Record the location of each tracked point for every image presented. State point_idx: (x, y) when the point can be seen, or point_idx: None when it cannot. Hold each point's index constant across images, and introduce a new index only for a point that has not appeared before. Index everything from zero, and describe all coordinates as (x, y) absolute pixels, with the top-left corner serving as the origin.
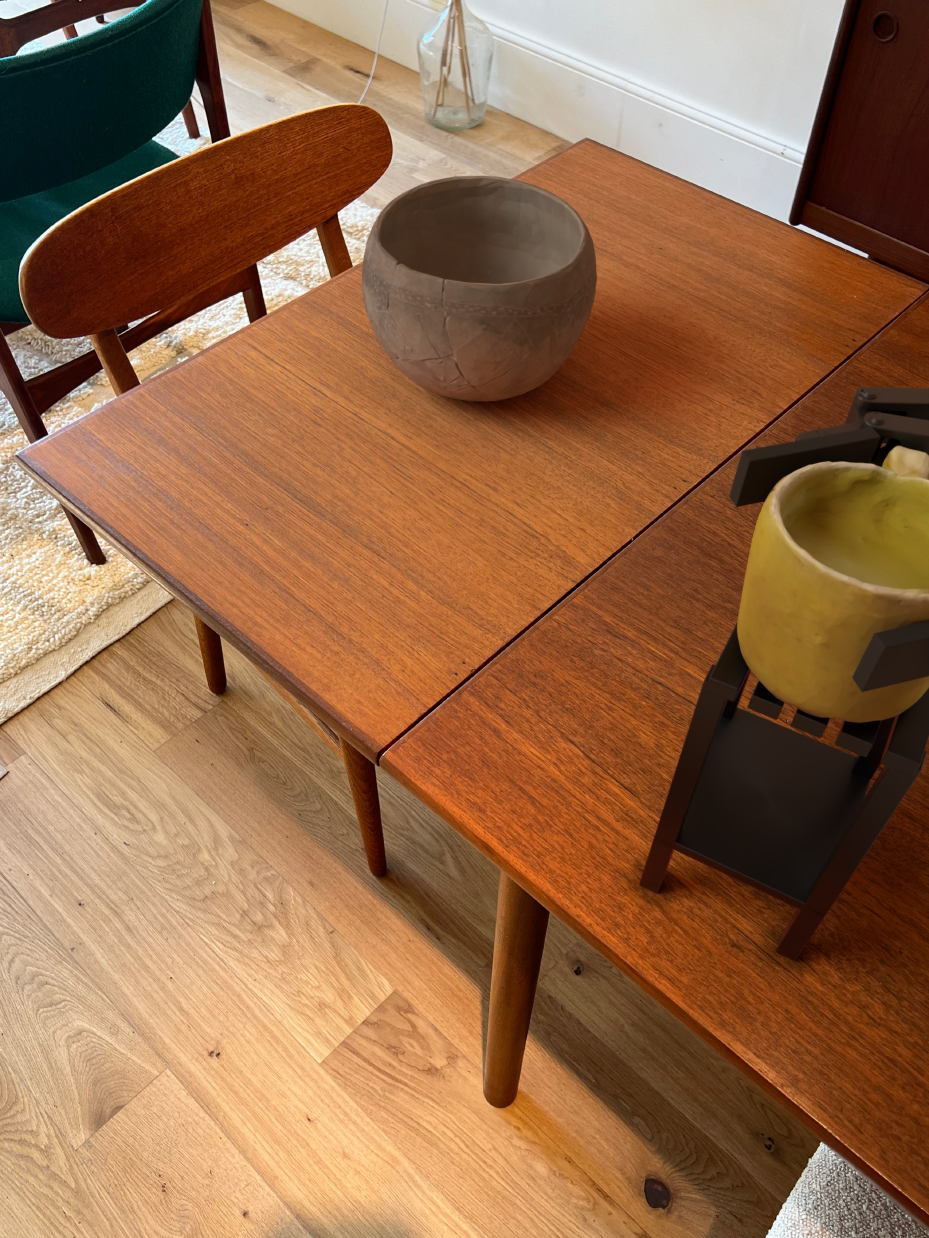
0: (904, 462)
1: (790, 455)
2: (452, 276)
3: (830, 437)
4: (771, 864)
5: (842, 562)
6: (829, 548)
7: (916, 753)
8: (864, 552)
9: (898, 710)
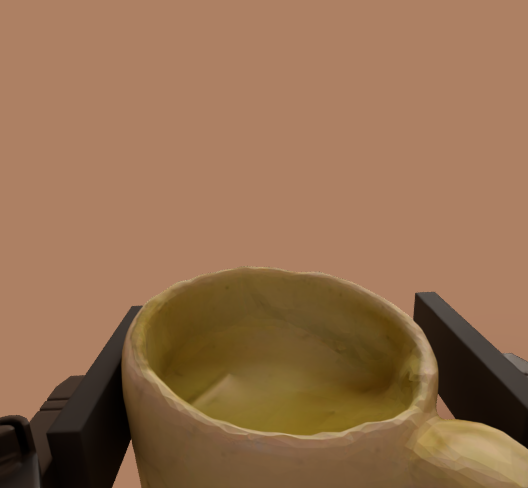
0: (466, 433)
1: (437, 318)
2: None
3: (493, 351)
4: None
5: (295, 383)
6: (324, 384)
7: None
8: (308, 407)
9: None
